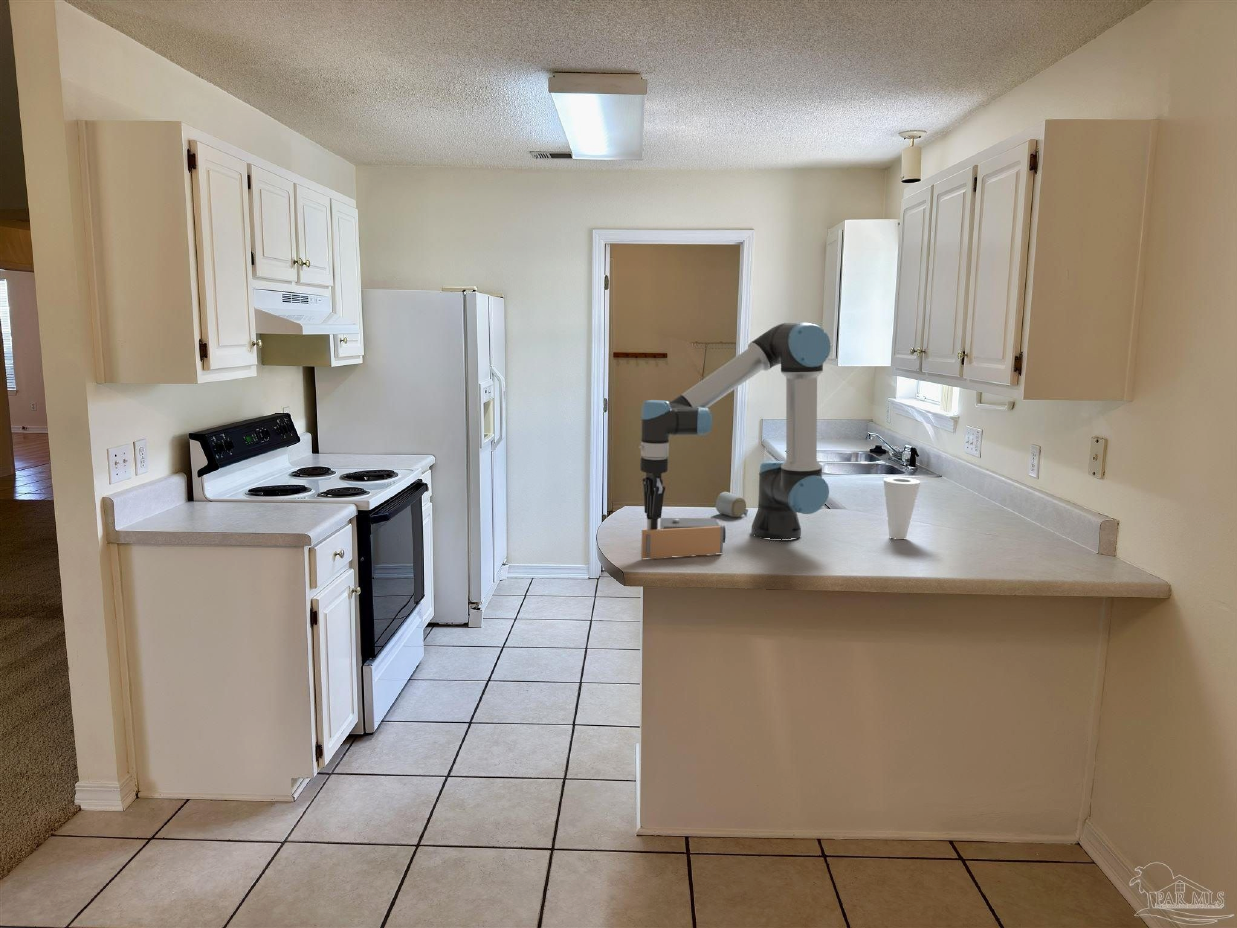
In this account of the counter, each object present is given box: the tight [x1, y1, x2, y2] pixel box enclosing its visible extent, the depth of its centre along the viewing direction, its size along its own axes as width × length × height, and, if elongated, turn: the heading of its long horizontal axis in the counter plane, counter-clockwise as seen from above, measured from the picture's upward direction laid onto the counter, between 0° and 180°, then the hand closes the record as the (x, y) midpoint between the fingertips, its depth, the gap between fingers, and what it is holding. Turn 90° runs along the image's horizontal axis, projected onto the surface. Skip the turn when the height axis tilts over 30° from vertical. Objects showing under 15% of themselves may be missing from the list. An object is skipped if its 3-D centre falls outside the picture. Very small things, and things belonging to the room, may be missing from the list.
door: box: [640, 525, 724, 560], centre depth 231 cm, size 24×2×8 cm, turn 105°
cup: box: [883, 476, 921, 539], centre depth 255 cm, size 11×11×18 cm
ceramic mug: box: [715, 491, 749, 518], centre depth 282 cm, size 11×8×8 cm
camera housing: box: [659, 517, 727, 544], centre depth 240 cm, size 18×10×9 cm, turn 92°
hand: (651, 540), depth 231 cm, fingers closed
